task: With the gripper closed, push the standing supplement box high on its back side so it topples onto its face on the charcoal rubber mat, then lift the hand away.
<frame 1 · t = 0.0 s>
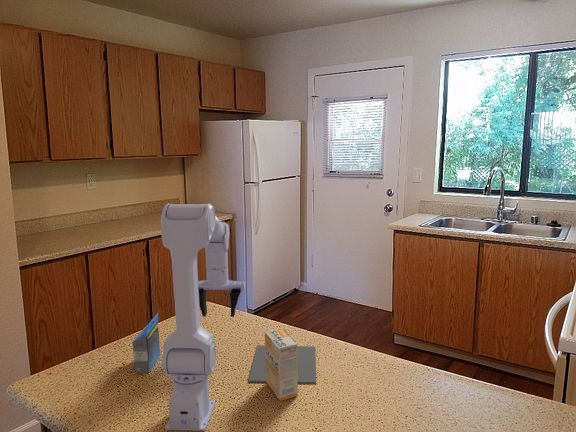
hand: (218, 315, 116), 10 cm above the countertop, fingers open, 7 cm apart
label tape cartridge: (148, 364, 111), on the countertop
supplement box: (281, 390, 99), on the countertop, touching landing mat
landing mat: (284, 363, 110), on the countertop
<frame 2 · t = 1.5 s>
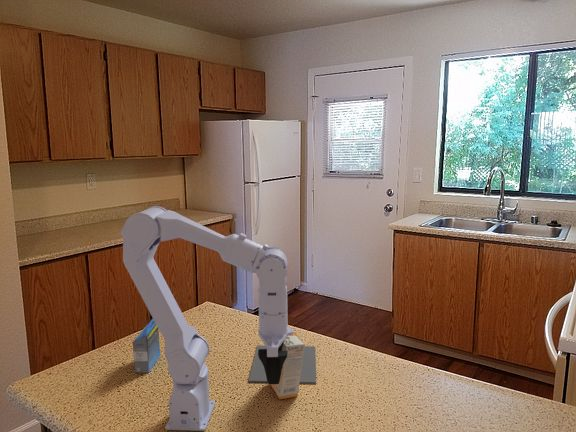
hand: (274, 372, 88), 9 cm above the countertop, fingers open, 7 cm apart
supplement box: (281, 388, 98), on the countertop, touching gripper
everything else where it was.
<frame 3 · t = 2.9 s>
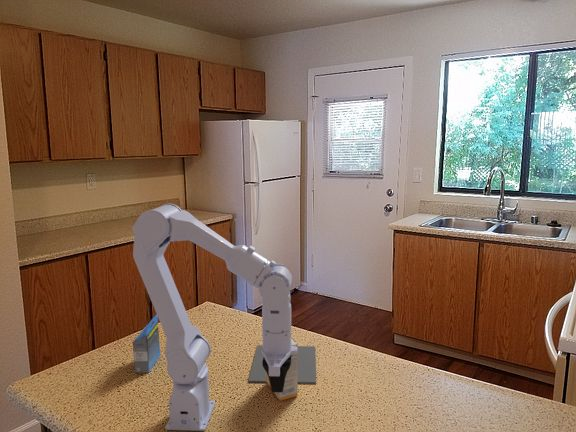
hand: (277, 390, 87), 6 cm above the countertop, fingers closed
supplement box: (281, 389, 99), on the countertop, touching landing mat
everything else where it was.
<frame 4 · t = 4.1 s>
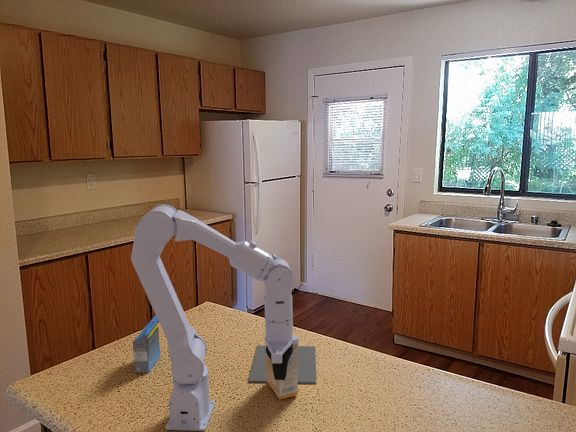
hand: (280, 378, 91), 7 cm above the countertop, fingers closed, pressing on supplement box
supplement box: (281, 389, 99), on the countertop, touching gripper, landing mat
everything else where it was.
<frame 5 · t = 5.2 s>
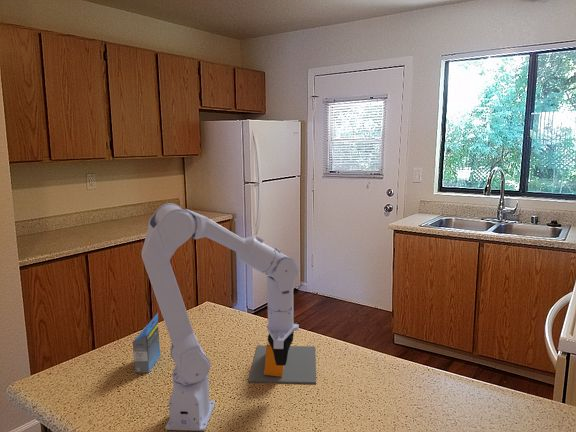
hand: (281, 363, 98), 6 cm above the countertop, fingers closed
supplement box: (274, 360, 102), point 5 cm above the countertop, touching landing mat
everything else where it was.
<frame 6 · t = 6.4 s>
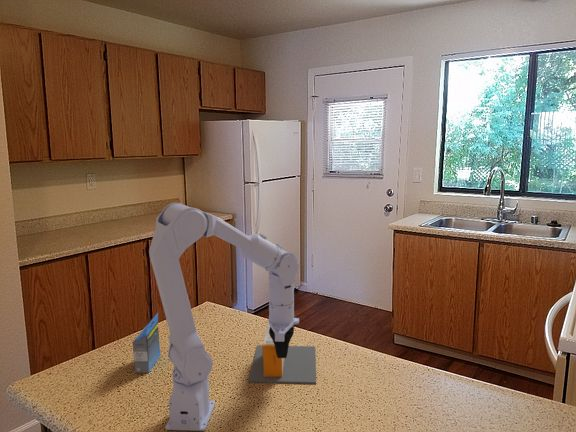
hand: (282, 356, 101), 6 cm above the countertop, fingers closed
supplement box: (271, 361, 102), point 5 cm above the countertop, touching gripper, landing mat
everything else where it was.
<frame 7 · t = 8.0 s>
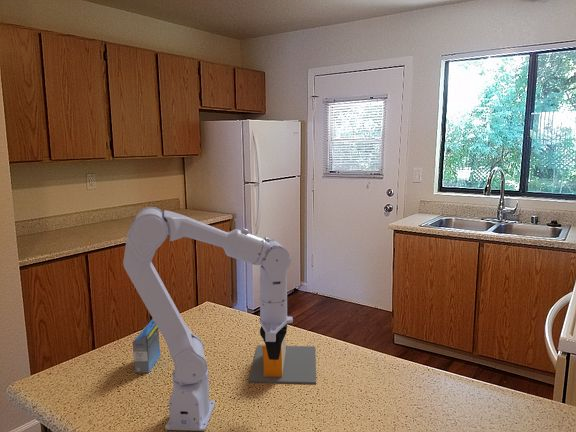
hand: (274, 358, 93), 10 cm above the countertop, fingers closed
supplement box: (271, 361, 102), point 5 cm above the countertop, touching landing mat
everything else where it was.
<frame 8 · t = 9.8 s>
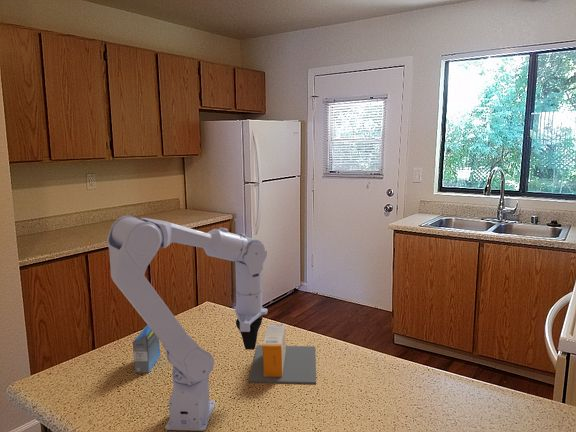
hand: (250, 348, 98), 10 cm above the countertop, fingers closed
nothing on the countertop moved.
at the end: supplement box tilted 91°; supplement box touching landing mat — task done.
